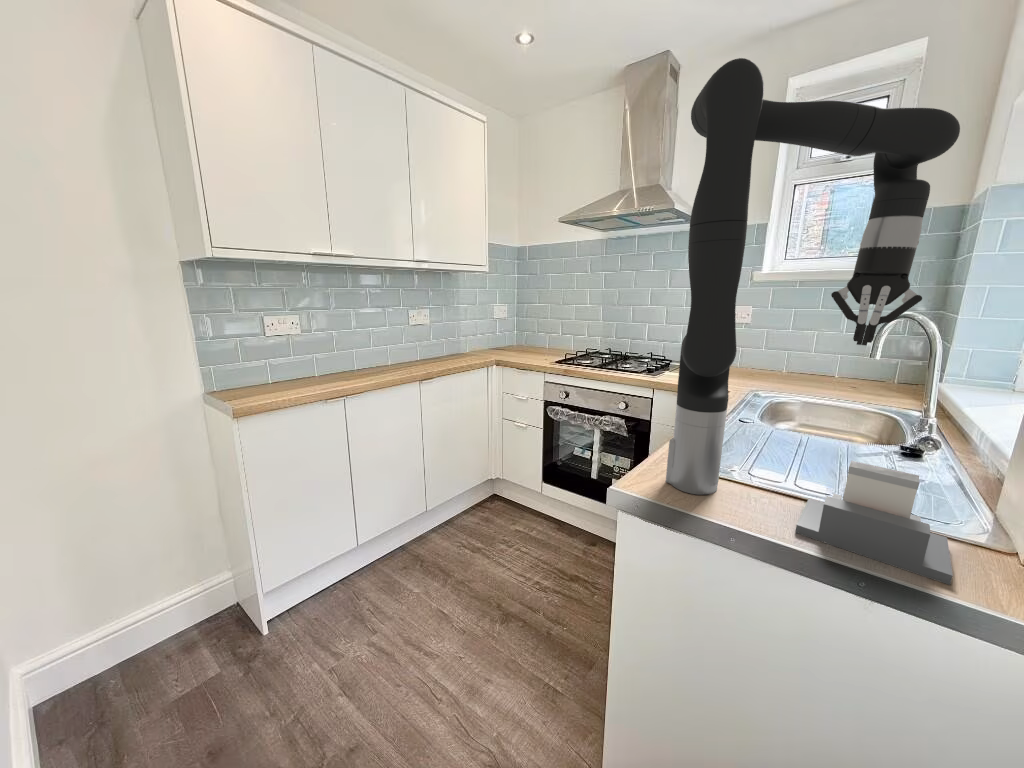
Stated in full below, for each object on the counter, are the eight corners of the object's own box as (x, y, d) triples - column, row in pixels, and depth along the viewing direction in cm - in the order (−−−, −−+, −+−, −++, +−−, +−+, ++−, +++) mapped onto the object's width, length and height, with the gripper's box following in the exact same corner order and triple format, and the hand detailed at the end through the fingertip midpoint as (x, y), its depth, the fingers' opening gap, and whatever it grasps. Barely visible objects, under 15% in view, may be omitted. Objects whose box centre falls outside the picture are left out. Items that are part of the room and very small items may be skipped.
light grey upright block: (837, 521, 68) (849, 466, 66) (840, 514, 70) (851, 460, 68) (904, 541, 62) (919, 482, 60) (904, 533, 65) (919, 475, 62)
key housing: (795, 532, 68) (801, 497, 67) (807, 505, 77) (813, 473, 75) (950, 585, 56) (962, 543, 55) (944, 545, 65) (955, 508, 63)
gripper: (838, 245, 73) (815, 341, 77) (943, 243, 64) (911, 352, 68) (841, 249, 78) (820, 338, 82) (938, 248, 70) (909, 348, 74)
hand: (861, 344), depth 75 cm, fingers closed
